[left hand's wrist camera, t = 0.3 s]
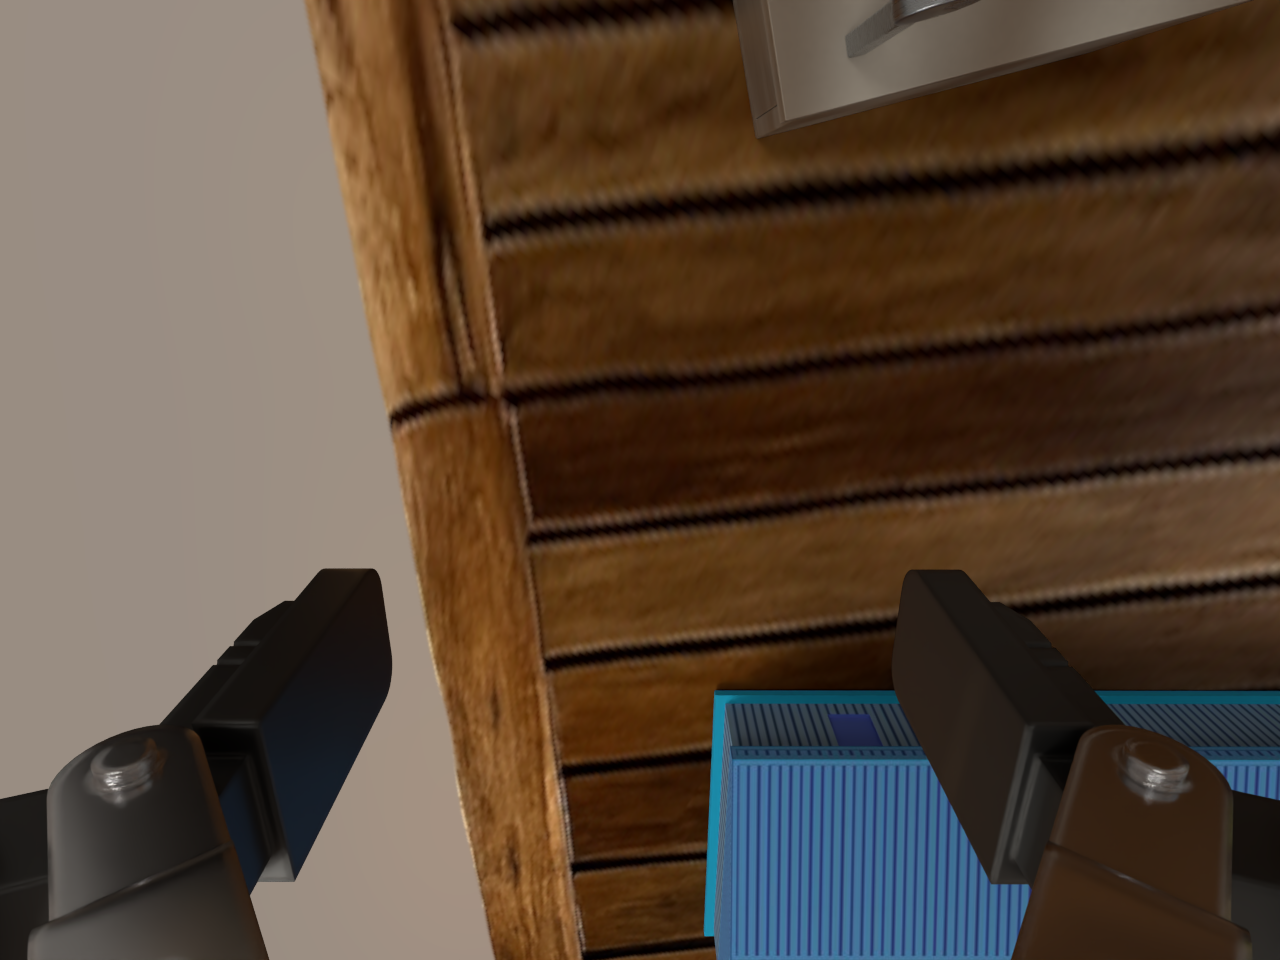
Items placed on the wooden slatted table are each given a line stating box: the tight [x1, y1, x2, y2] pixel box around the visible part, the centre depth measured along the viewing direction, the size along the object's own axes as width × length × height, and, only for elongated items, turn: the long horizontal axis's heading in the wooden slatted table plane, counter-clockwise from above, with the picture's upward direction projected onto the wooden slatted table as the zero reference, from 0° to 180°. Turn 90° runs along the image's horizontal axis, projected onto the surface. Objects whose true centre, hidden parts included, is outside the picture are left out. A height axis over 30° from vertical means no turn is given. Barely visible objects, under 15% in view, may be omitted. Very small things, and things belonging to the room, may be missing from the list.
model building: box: [704, 690, 1280, 960], centre depth 46 cm, size 39×24×10 cm, turn 90°
